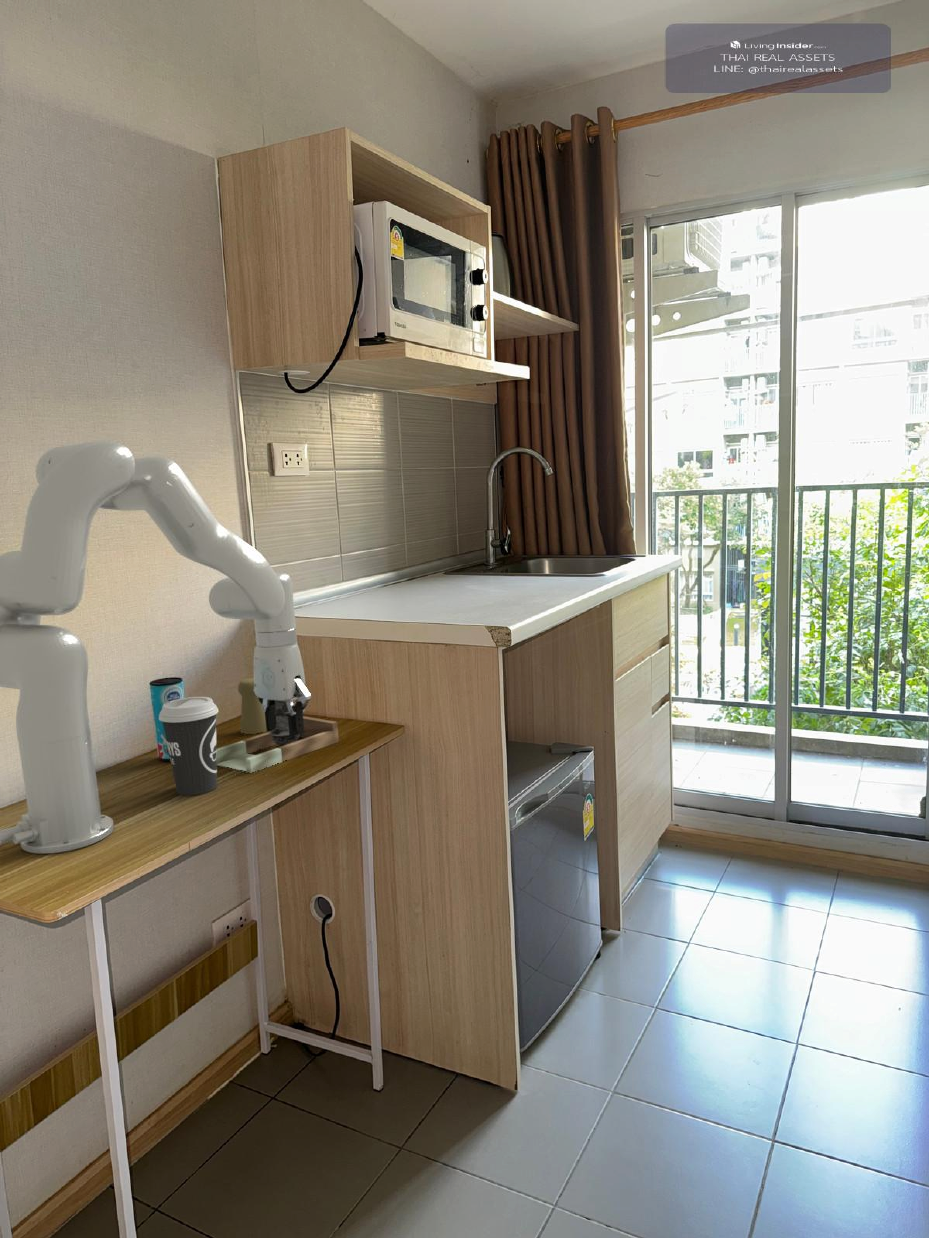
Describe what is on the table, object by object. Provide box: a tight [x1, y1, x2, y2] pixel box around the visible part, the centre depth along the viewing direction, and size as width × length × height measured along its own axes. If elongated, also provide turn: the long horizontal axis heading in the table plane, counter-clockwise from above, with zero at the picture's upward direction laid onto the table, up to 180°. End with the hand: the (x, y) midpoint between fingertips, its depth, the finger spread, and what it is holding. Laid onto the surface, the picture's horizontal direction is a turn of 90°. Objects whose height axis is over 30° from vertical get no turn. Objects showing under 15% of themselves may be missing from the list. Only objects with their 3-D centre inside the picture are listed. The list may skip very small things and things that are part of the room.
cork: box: [237, 677, 268, 735], centre depth 182 cm, size 6×6×11 cm
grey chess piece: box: [270, 701, 300, 749], centre depth 167 cm, size 6×6×12 cm
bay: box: [216, 715, 340, 774], centre depth 166 cm, size 21×11×4 cm, turn 142°
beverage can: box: [149, 676, 186, 762], centre depth 166 cm, size 6×6×15 cm
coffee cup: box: [159, 696, 220, 797], centre depth 146 cm, size 10×10×15 cm
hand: (285, 730), depth 167 cm, fingers closed on grey chess piece, 5 cm apart
